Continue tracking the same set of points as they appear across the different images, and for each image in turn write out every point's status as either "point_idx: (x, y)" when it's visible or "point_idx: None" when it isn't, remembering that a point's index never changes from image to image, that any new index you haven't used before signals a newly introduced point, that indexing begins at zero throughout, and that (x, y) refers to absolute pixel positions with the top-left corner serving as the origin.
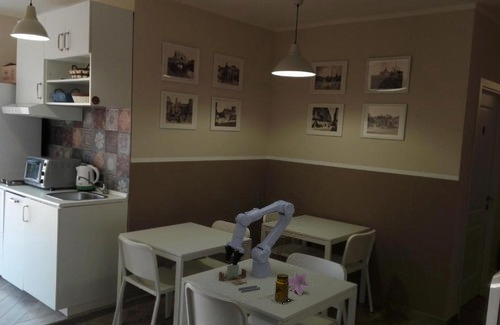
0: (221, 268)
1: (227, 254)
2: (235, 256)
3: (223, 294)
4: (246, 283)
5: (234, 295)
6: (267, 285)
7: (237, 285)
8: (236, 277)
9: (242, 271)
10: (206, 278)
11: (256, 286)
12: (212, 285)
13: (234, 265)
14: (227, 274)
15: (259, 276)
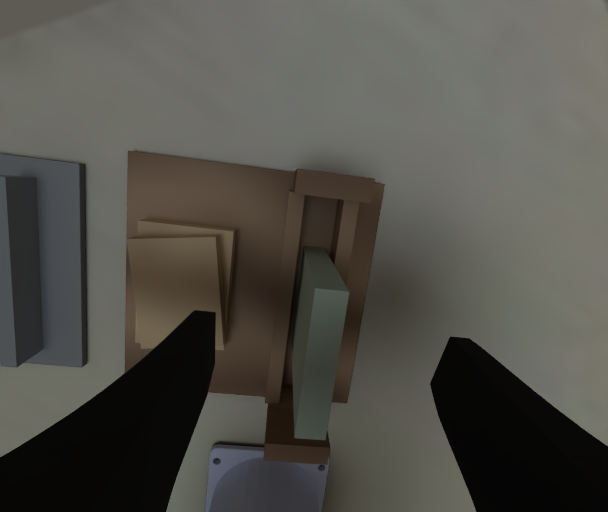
0: (602, 382)
1: (515, 433)
2: (31, 449)
3: (65, 35)
4: None
5: (4, 114)
6: None
7: None
8: (275, 326)
9: None
10: (492, 138)
11: (5, 356)
12: (315, 81)
13: (307, 379)
14: (323, 260)
15: (213, 503)
